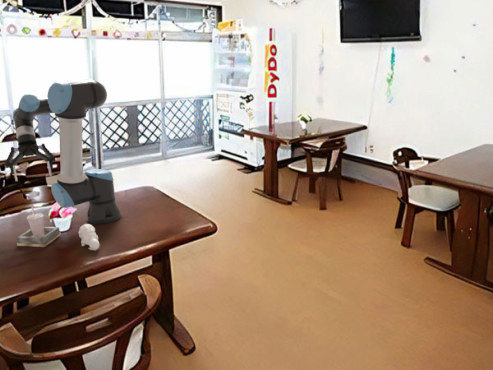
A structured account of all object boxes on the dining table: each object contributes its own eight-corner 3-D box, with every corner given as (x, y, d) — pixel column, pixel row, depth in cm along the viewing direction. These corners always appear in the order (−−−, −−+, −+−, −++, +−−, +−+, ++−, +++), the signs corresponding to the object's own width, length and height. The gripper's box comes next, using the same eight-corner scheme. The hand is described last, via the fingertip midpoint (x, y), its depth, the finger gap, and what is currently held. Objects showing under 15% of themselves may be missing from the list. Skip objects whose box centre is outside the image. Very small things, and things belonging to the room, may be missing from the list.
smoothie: (34, 235, 178) (28, 203, 174) (50, 234, 179) (44, 203, 174) (28, 241, 172) (22, 209, 168) (44, 240, 172) (38, 208, 168)
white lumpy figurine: (92, 220, 172) (102, 232, 163) (94, 238, 175) (104, 251, 166) (76, 224, 168) (86, 236, 159) (78, 243, 171) (88, 256, 163)
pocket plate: (61, 234, 180) (59, 227, 179) (44, 246, 169) (43, 238, 168) (35, 233, 182) (33, 226, 181) (17, 245, 171) (15, 237, 170)
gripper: (56, 139, 201) (64, 177, 193) (-4, 146, 190) (2, 186, 182) (55, 130, 195) (64, 168, 187) (-7, 136, 184) (-1, 177, 176)
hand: (33, 177), depth 184 cm, fingers open, 13 cm apart
